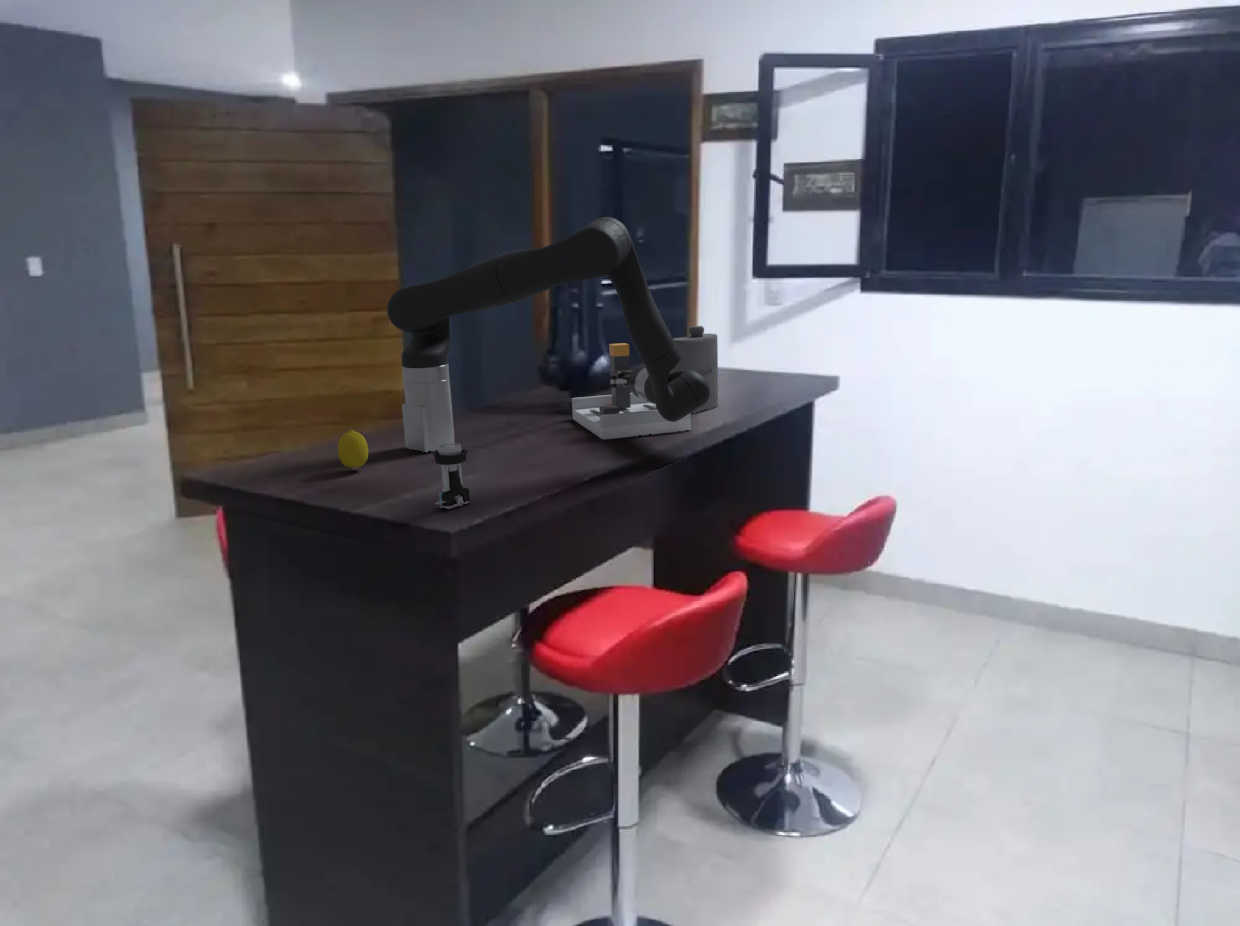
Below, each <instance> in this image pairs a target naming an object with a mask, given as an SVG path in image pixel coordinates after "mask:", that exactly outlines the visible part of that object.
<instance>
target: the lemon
mask: <svg viewBox="0 0 1240 926" xmlns="http://www.w3.org/2000/svg"><path fill="white" fill-rule="evenodd" d="M368 446H369V445H368V442H367V440H366V438H365V436H363V434H361V433H360V432H358V431H355V430H354V429H349V430H348V431H347V432H344V434H343V435H341V436H340V438H339V439H338V443H337V456H338V458H339V461H340V462H341V465H343V466H345V467H346V468H348V467H350V468H349V469H351V468H355V467H359V468H361V467H362V466H364V465H365V464H366V462H367V460H368V458H369V447H368Z"/></svg>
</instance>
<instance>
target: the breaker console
mask: <svg viewBox="0 0 1240 926" xmlns="http://www.w3.org/2000/svg"><path fill="white" fill-rule="evenodd" d="M571 403H572V404H571V406H572V407H571V409H572V420H573V421H575V422H576V423H578V424H579V425H581V426H582V427H584V428H585V429H587V430H588V431H590V432H592V434H594V435H595V436H597V437H598V438H599V439H601V440H611V439H622V438H631V437H640V436H639V435H641V436H649V434H651V435H658V434H669V433H679V432H687V431H686V430H689V431H692V414H691V413H690V414H688V415H687V416H685V417H683V418H682V419H680V420H678V421H676V422H670V421H667V420H666V419H664V418H663V417H662V416H661V415H660V413H659V412H658V410H657V407H656V404H652V403H649V402H647V401H645V400H643V399H640V398H638V397H637V396H635V395H634V394H633V393H632V392H630V406H631V408H621V409H619V408H618V407H616V406H612V394H605V395H595V396H583V397H573V398H571ZM678 431H679V432H678Z"/></svg>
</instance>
